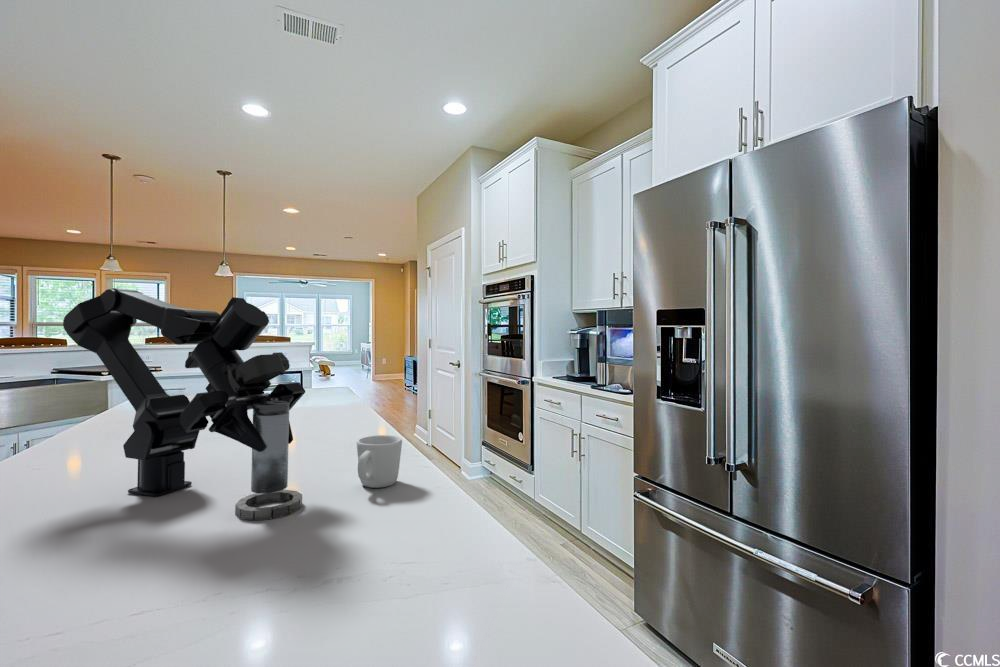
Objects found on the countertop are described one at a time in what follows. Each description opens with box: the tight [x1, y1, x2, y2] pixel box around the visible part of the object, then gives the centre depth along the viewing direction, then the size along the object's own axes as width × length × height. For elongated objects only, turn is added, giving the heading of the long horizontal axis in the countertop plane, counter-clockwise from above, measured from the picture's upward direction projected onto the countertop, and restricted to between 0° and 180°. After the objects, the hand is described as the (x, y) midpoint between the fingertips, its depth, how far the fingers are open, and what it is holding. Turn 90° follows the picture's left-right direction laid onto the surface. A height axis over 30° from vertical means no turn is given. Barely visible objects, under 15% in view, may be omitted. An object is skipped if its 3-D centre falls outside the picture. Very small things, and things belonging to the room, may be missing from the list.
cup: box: [356, 434, 403, 489], centre depth 81 cm, size 11×8×8 cm
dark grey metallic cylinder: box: [250, 401, 290, 494], centre depth 70 cm, size 5×5×13 cm
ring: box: [234, 489, 303, 522], centre depth 70 cm, size 9×9×1 cm
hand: (277, 445), depth 69 cm, fingers closed on dark grey metallic cylinder, 5 cm apart
